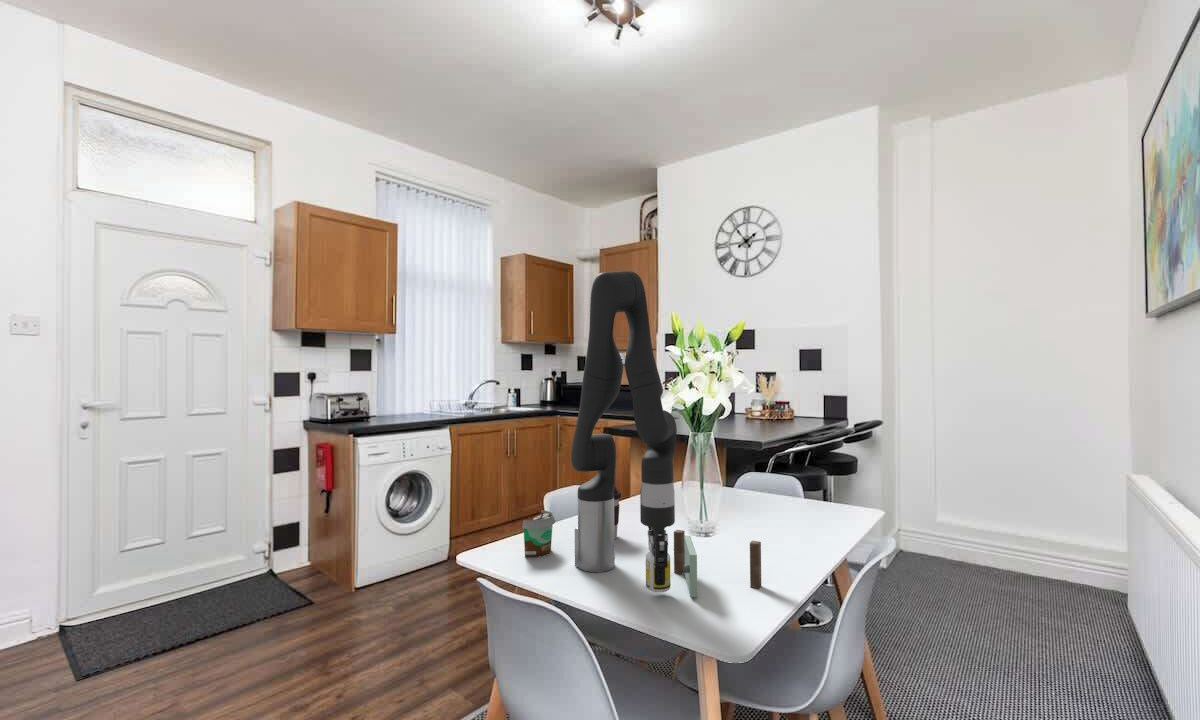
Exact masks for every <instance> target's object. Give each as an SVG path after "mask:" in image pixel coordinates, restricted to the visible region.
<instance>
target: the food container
mask: <svg viewBox="0 0 1200 720" xmlns="http://www.w3.org/2000/svg"><path fill="white" fill-rule="evenodd" d="M555 523H556V519H555V516H554V514H553V512H551V511H549V510H544V509H543V510H542V509H541V510H540V514H538V515H535V516H532V517H531V518H530V519H529V520H526V519H524V520H523V522H522V529H523V542H524V544H523V545H524V558H529V557H530V558H540V557H539V556H541V557H545V556H548V555H549V554H551V552H552V541H553V540H552V537H553V525H554V524H555ZM547 554H548V555H547ZM544 555H545V556H544Z"/></svg>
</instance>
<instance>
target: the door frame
mask: <svg viewBox="0 0 1200 720" xmlns="http://www.w3.org/2000/svg"><path fill="white" fill-rule="evenodd" d="M684 536H686V535H685V530H683V529H676V530H674V531H673V573H674V574H676V575H677V574H679V575H683V574H685V573H684ZM749 578H750V579H749V586H750V588H752V589H757V590H760V589H761V587H762V542H761V541H757V540H751V541H750V542H749Z"/></svg>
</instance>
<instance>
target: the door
mask: <svg viewBox="0 0 1200 720" xmlns="http://www.w3.org/2000/svg"><path fill="white" fill-rule="evenodd" d="M697 554H698V553H697V552H696V549H695V544H694V542H693V539H692V536H691V535H685V536H684V573H683V574H684V577H685V580H686V584H687V588H688V593H689V597H690V598H698V555H697Z"/></svg>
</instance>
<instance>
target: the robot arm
mask: <svg viewBox="0 0 1200 720" xmlns="http://www.w3.org/2000/svg"><path fill="white" fill-rule="evenodd" d="M589 301H590V307H589V326H588V327H589V328H588V329H589V330H588V331H589V332H588V338H587V339H588V340H587V341H588V342H587V350H586V357H585V361H584V362H585V363H584V368H583V375H582V385H581V393H580V401H579V403H580V404H579V409H578V415H577V420H576V423H575V428H574V432H573V437H572V442H571V450H570V461H571V465H572V468H574V469H573V470H575V471H577V472H583V473H584V472H596V471H597V472H596V474H595V476H594V477H592V478H590V480H588V481H586V482H584V483H582V484H580V485H579V486H578V488H577V527H575V528H574V566H575V567H577V568H579V570H582V571H585V572H591V573H602V572H608V571H610V570H613V568H614V567H615V561H616V560H615V551H616V550H615V549H616V548H615V539H614V489H615V487H616V464H617V447H616V442H615V439H614V437H613V436H612V435H611V434H610V433H593V432H594V429H595V427H596V425H597V423H598V422H599V420H600V419H601V418H602V416H603V415H605V413H606V412H607V411H608V409H609V408H610V407H611V405H612V404H613V403H614V402H615V401H616V399H617V398H618V396H619V394H620V391H621V385H622V380H623V375H624V370H625V374H626V380H627V382H628V386H629V387H628V388H629V390H630V393H631V396H632V404H633V405H632V408H633V416H634V424H635V429H636V431H637V434H638V436H639V438H640V439H641V440H642V441H643V442H644V443H646V451H645V454H644V455H643V456H642V459H641V465H640V469H641V470H640V471H641V474H640V475H641V476H640V477H641V483H640V492H639V493H640V495H639V496H640V497H639V498H640V501H639V503H640V509H639V511H640V515H639V516H640V517H639V518H640V523H641V524H642V525H643V526H646V527H648V530H647V539H648V544H647V545H648V546H649V542H650V543H651V555H652V556H653V557H654V580H655V584H656V585H664V584H665V568H667V566H668V563H667V558H668V554H669V553H668V549H669V542H668V541H669V534H668V533H667V530H666V529H667V527H668V528H669V527H671V526H673V525H674V524H675V522H676V517H675V516H676V509H675V507H676V506H675V504H676V499H675V497H676V496H675V494H676V493H675V484H674V455H675V449H676V442H677V422H676V419H675V418H674V416H673V414H672V413H670V412H669V411H667V410H664V409H663V404H662V399H661V398H662V396H663V392H664V391H663V390H664V389H663V384H662V381H661V377H660V373H659V371H658V366H657V364H656V363H657V362H656V358H655V354H654V349H653V345H652V338H651V337H652V335H651V327H650V319H649V311H648V303H647V295H646V288H645V286H644V283H643V280H642V278H641V277H640V275H639V274H638V273H636V272H634V271H632V270H631V271H630V270H621V271H620V270H616V271H615V270H614V271H604V272H600V273H598V274H597V275H596V276H595V278H594V280H593V282H592V286H591V291H590V300H589ZM617 313H624V314H625V317H626V320H627V324H628V341H627V345H626V351H625V356H624V363H623V359H622V357H621V354H620V352H619V349H618V347H617V345H616V341H615V339H614V326H615V325H614V324H615V317H616V314H617ZM624 368H625V369H624ZM654 549H655V551H654ZM658 558H663V562H658Z"/></svg>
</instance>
